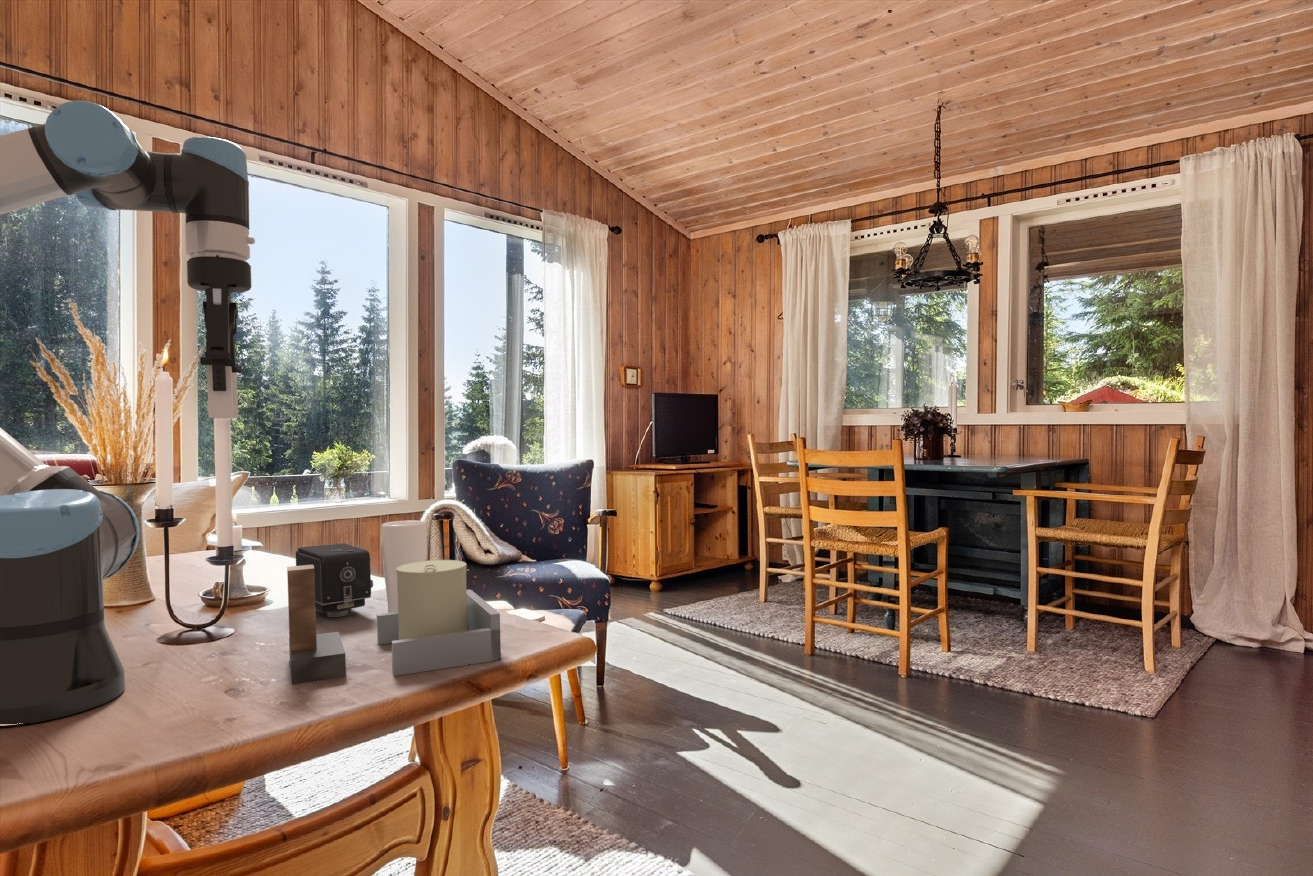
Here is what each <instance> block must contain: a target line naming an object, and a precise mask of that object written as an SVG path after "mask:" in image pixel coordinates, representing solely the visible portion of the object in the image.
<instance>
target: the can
mask: <svg viewBox="0 0 1313 876" xmlns="http://www.w3.org/2000/svg"><path fill="white" fill-rule="evenodd" d="M467 565H468V564H467V563H466V562H464V561H462V560H458V559H457V560H456V559H455V560H454V559H431V560H426V561H418V562H412V563H407V564H403V565H401V566H398V567H397V568H396V571H397V589H398V622H399V640H403V639H410V638H418V637H425V636H433V635H440V634H448V633H455V632H463V631H467V597H466V590H467Z"/></svg>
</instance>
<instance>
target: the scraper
mask: <svg viewBox="0 0 1313 876" xmlns="http://www.w3.org/2000/svg"><path fill="white" fill-rule="evenodd" d="M286 567H287V569H286V573H287V574H286V575H287V599H288V605H287V606H288V608H287V609H288V629H289V631H288V634H289V637H288V646H289V647H288V648H289V650H288V653H289V668H290V677H291V678H290V679H291V680H290V681H291V686H294V685H295V686H296V685H301V684H308V683H313V682H321V681H327V680H329V681H330V680H333V679H334V680H336V679H341V678H346V677H347V667H346V666H347V662H346V659H347V658H346V651H345V648H344V645H343V642H342V639H341V636H340V632H339V631H334V632H327V633H318V634H317V615H316V614H317V613H316V611H317V610H316V605H315V572H314V565H302V566H296V565H293V566H286Z"/></svg>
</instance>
